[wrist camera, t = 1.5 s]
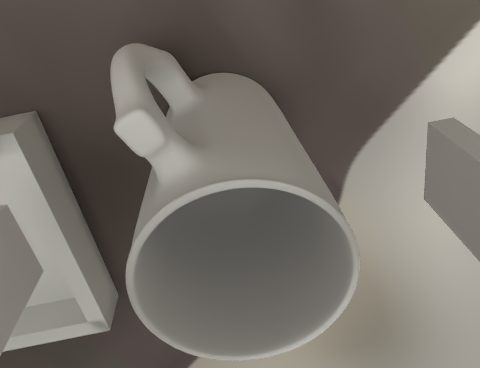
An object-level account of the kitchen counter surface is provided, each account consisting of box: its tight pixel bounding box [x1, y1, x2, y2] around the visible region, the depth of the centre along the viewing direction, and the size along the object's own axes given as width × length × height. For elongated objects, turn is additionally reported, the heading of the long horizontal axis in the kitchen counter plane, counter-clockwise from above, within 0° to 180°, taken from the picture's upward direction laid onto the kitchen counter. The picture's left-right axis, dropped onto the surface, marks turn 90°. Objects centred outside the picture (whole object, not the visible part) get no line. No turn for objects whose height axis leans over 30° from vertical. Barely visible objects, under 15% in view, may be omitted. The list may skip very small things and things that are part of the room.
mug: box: [110, 43, 360, 361], centre depth 16 cm, size 10×7×12 cm, turn 32°
